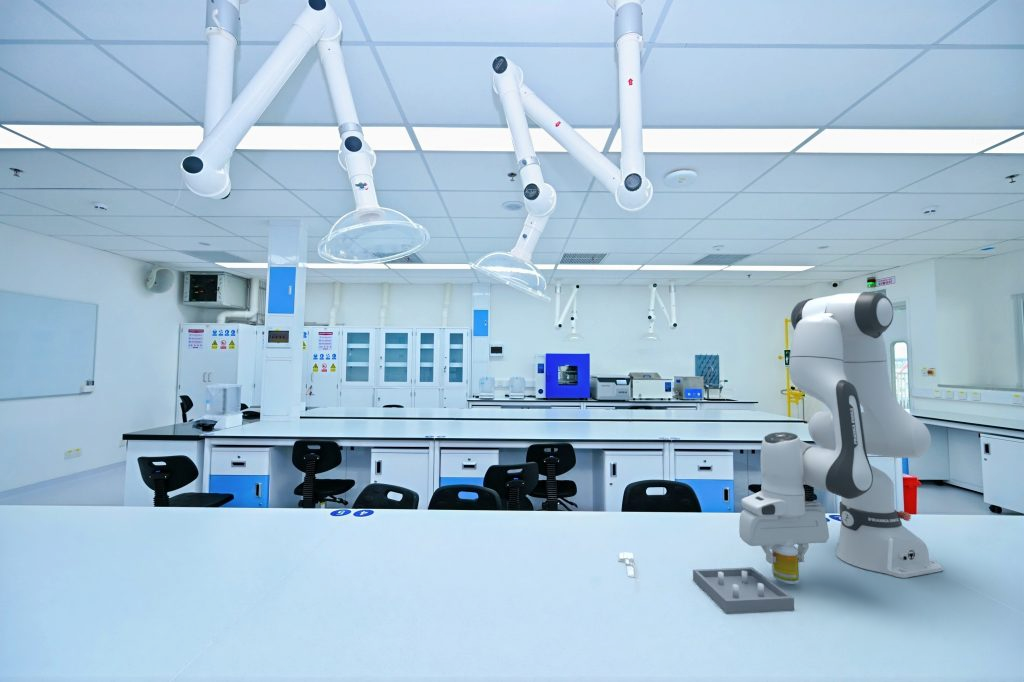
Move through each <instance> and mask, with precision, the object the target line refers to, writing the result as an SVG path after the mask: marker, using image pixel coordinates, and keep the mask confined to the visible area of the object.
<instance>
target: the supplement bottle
mask: <svg viewBox="0 0 1024 682" xmlns="http://www.w3.org/2000/svg"><path fill="white" fill-rule="evenodd" d="M797 548H798V547H796V546H795V544H794V543H793V540H787V542H786V544H784V545H772V549H771V553H772V554H773V555H775V556H777V559H776V561H777V563H772V564H771V574H772V577H773V578H774V579H775V580H777V581H779V582H781V583H785V584H796V583H799V579H800V576H799V574H800V573H799V572H800V571H799V562H798V550H797Z"/></svg>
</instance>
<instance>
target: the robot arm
mask: <svg viewBox="0 0 1024 682" xmlns="http://www.w3.org/2000/svg"><path fill="white" fill-rule="evenodd" d="M893 319H894V307H893V303H892V302H891V300H890V298H888V297H887V295H885V294H884V293H882V292H875V291H863V292H849V293H846V292H845V293H836V294H834V295H828V296H827V295H826V296H822V297H817V298H807V299H804V300H800V301H799V302H797V304H796V305H795V306H794V307H793V309H792V311H791V315H790V321H791V322H790V323H791V326H792V327H793V330H794V331H793V335H792V339H791V344H790V345H791V346H790V351H789V363H788V364H789V365H788V372H789V374H788V375H789V379H790V380H791V382H792V384H794V386H795V387H796V388H797V389H799V390H800V391H801V392H803V394H804V393H805V394H806V395H808V396H810V397H812V398H814V399H816V400H818V401H820V402H821V403H823V404H824V405H825V406H826V407H827V408H828V409H829V410H821V411H817V412H815V413H814V414H813V415H812V416H811V418H810V419H809V422H808V425H807V427H808V428H807V429H808V434H809V436H810V438H811V439H812V441H813V442H814V443H815V444H816V445H812V444H811V443H808V442H805V441H803V440H801V439H800V437H799V435H797V434H796V433H792V432H786V431H783V432H782V431H781V432H772V433H769V434H767V435H765V436H764V437H763V439H762V441H761V446H760V460H759V461H760V473H761V474H762V482H761V487H760V488H761V490H760V491H758V492H755V493H753V494H751V495H748V496H745V497H743V498H742V499H741V500H740V502H741V503H740V505H741V507H742V508H744V509H743V510H742V511H741V512H740V515H739V527H738V528H739V530H738V531H739V532H738V533H739V537H740V539H741V540H742V542H744V543H746V544H747V545H748V546H751V547H761V548H762V550H763V552H764V554H765V561H766V562H767V563H769V564H770V565H772V563H777V561H776V559H777V556H775V555H773V554H772V545H784V544H786V542H787V540H793V543H794V545H798V546H797V547H796V548H797V550H798V563H804V562H805V556H806V553H807V551H809V550H808V549H809V544H820V543H821V544H822V543H827V542H828V540H829V539H830V534H829V526H828V522H827V517H826V507H825V506H824V505H823V504H822V502H819V501H817V500H813V501H806V495H805V488H804V485H807V486H810V487H812V488H815V489H820V490H823V491H826V492H829V493H831V494H834V495H837V496H839V497H841V501H840V502H839V508H838V509H839V516H840V517H839V518H840V527H839V528H840V529H839V534H838V535H839V536H838V537H839V538H838V542H837V547H836V550H835V555H836V557H837V558H839V559H840V560H842V561H843V562H845V563H847V564H849V565H852V566H855V567H858V568H861V569H863V570H868V571H873V572H876V573H877V572H878V573H882V574H886V575H890V576H893V577H895V578H896V577H897V578H902V579H906V578H911V577H916V576H922V575H923V576H924V575H927V574H934V573H938V572H943V571H944V569H943V566H942V565H941V564H940V563H938V562H937V561H935V560H933V559H932V558H930V555H929V549H928V546H927V544H926V542H924V540H922V538H920V537H919V536H917V535H916V534H914V533H913V532H912V531H911V530H909V529H908V528H907V527H905V525H903V523H902V520H904V521H905V522H909V521H910V520H911V519H912V515H911V514H910V513H909V512H905V511H903V510H900V511H897V510H896V508H895V485H894V482H893V480H892V479H891V477H890V476H889V475H888V474H887V473H886V472H884V471H882V470H881V469H879V468H877V467H875V466H874V465H872V464H871V463H870V460H869V457H868V455H872V456H881V457H885V458H886V457H887V458H893V459H894V458H895V459H898V458H899V459H910V458H911V459H912V458H913V459H914V458H921V457H922V456H924V455H925V454H926V453H927V452H928V450H929V448H930V446H931V442H932V438H931V433H930V431H929V429H928V427H927V426H926V424H925V423H923V421H921V420H920V419H918V418H917V417H915V416H913V415H912V414H910V413H909V412H908V411H907V410H906V409H905V408H903V406H902V405H901V404H900V403H899V401H898V400H897V398H896V397H895V396H894V393H893V391H892V387H891V382H890V376H889V368H888V356H887V349H886V344H885V343H886V342H885V339H884V335H883V333H884V332H886V331H887V330H888V328H890V326H891V325H892V323H893ZM861 407H862V408H861ZM862 409H863V410H864V411H862Z"/></svg>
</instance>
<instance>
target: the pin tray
mask: <svg viewBox="0 0 1024 682" xmlns="http://www.w3.org/2000/svg"><path fill="white" fill-rule="evenodd" d="M692 580H693V582H694V583H695V584H696V585H697V586H698V587H699V588H700V589H701V590H702V591H703V592H704V593H705V594H706V595H707V596H708V597H709V598H711V600H713V602H714V603H715V604H717V605H718V606H719V608H720V609H721V610H722V611H724V612H725V613H726V614H743V613H746V614H747V613H762V612H763V613H764V612H765V613H766V612H779V611H780V612H781V611H782V612H784V611H795V597H793V596H792V595H791V594H790V593H788V592H786V591H785V590H784V589H783V588H781V587H780V586H779V585H778V584H776V583H774V582H773V581H771V580H770V579H769V578H767V577H766V576H765V575H763V574H762V573H761V572H759V571H758V570H757V569H755V568H754V567H752V566H751V567H731V568H730V567H727V568H726V567H725V568H704V569H703V568H699V569H698V568H697V569H692Z"/></svg>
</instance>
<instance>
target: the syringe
mask: <svg viewBox="0 0 1024 682" xmlns="http://www.w3.org/2000/svg"><path fill="white" fill-rule="evenodd" d="M617 561H618V563H623V564H625V566H626V574H627V577H628V578H636V577H637V576H636V575H635V572H634V571H635V569H634V567H633V566H635V565H636V564H635V559H634V553H633V552H632V551H631V552H628V551H626V552H625V551H623V552H619V553H618V555H617ZM625 562H626V563H625ZM637 582H639V579H637Z"/></svg>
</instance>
